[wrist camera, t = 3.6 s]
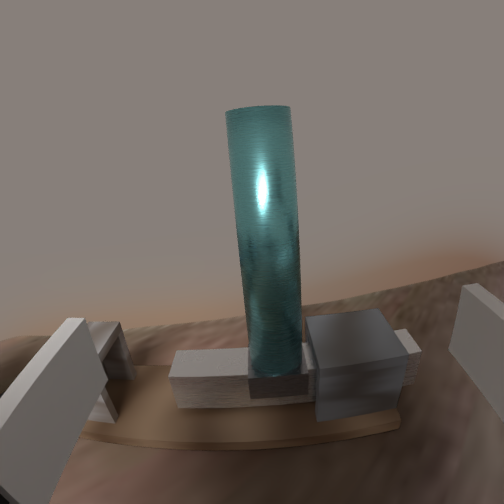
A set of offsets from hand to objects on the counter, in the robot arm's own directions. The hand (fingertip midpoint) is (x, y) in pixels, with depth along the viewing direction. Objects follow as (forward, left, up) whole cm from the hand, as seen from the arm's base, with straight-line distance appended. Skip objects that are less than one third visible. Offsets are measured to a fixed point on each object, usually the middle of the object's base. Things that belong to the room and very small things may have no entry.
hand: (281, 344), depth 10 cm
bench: (+4, -10, -13) cm, 17 cm away
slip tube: (-2, -10, -11) cm, 15 cm away
